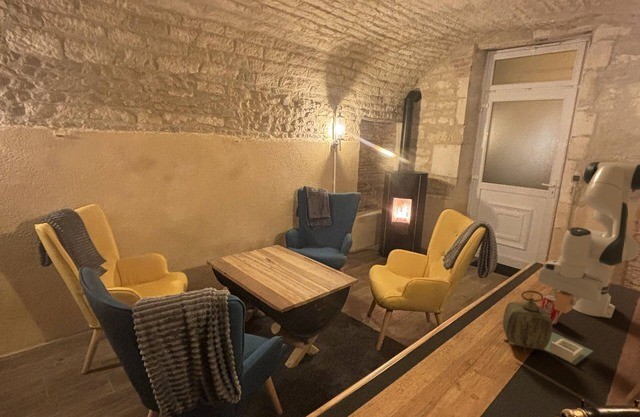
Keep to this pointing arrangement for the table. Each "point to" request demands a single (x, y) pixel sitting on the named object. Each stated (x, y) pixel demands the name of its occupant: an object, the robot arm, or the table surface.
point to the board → (557, 337)
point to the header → (566, 350)
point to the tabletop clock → (527, 324)
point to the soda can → (550, 307)
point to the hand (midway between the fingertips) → (564, 301)
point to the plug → (563, 302)
